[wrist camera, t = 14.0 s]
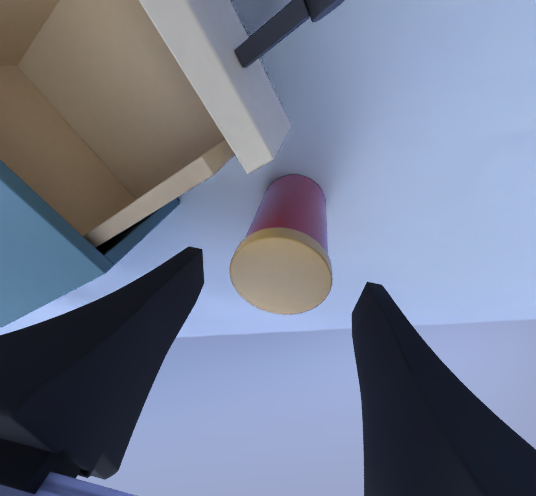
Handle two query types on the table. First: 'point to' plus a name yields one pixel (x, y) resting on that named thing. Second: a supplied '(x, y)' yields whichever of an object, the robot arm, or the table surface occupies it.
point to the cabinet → (51, 249)
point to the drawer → (135, 101)
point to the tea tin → (285, 250)
